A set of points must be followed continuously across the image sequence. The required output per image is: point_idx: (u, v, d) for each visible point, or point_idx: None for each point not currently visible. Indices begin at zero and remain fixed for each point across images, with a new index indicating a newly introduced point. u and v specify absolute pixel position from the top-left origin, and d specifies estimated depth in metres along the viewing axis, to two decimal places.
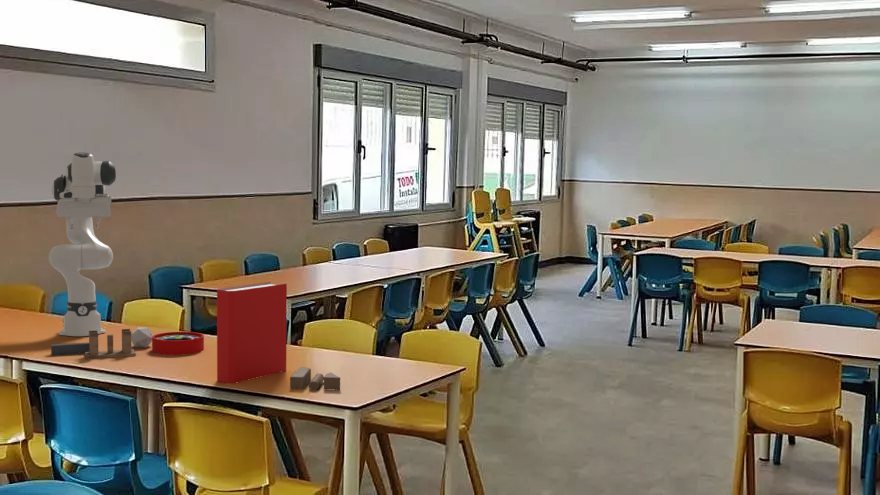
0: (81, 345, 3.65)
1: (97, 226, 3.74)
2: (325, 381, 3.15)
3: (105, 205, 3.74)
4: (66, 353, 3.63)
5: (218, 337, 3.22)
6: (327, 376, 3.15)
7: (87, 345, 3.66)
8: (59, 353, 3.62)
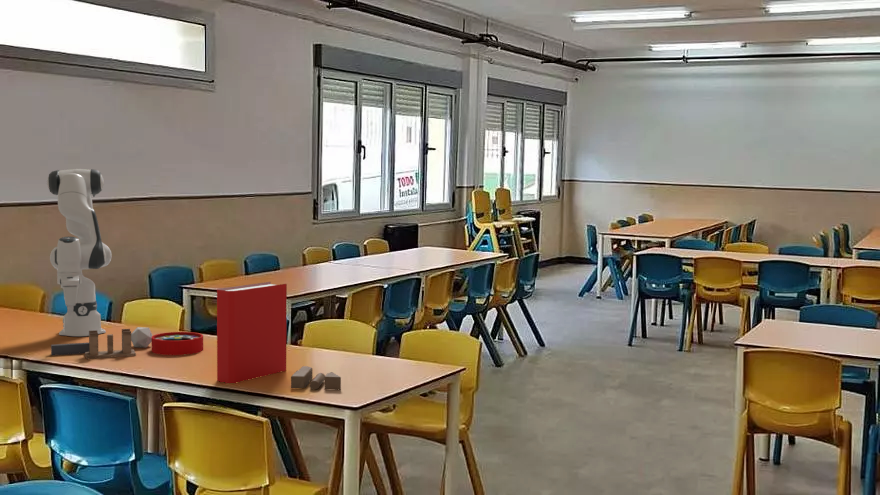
0: (81, 345, 3.65)
1: None
2: (326, 380, 3.15)
3: None
4: (66, 353, 3.63)
5: (218, 337, 3.22)
6: (328, 375, 3.16)
7: (87, 345, 3.66)
8: (59, 353, 3.62)
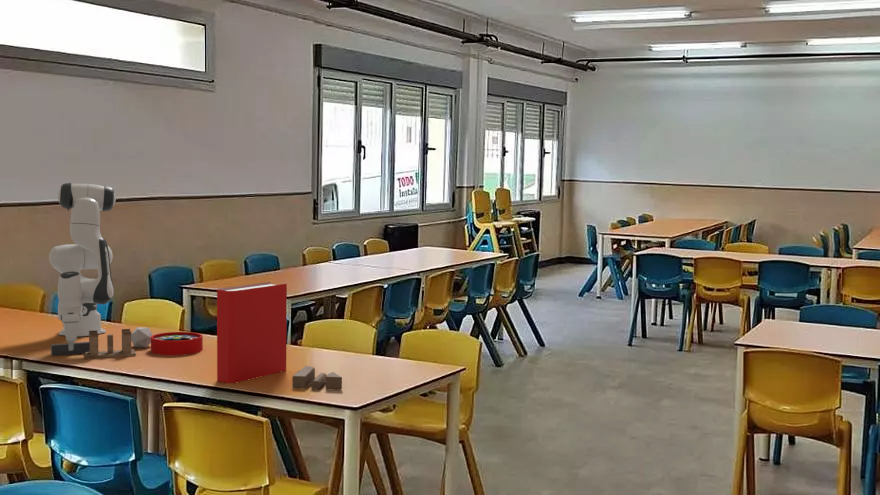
0: (81, 344, 3.65)
1: None
2: (327, 380, 3.15)
3: None
4: (66, 353, 3.63)
5: (218, 337, 3.22)
6: (329, 376, 3.16)
7: (87, 344, 3.67)
8: (59, 353, 3.62)
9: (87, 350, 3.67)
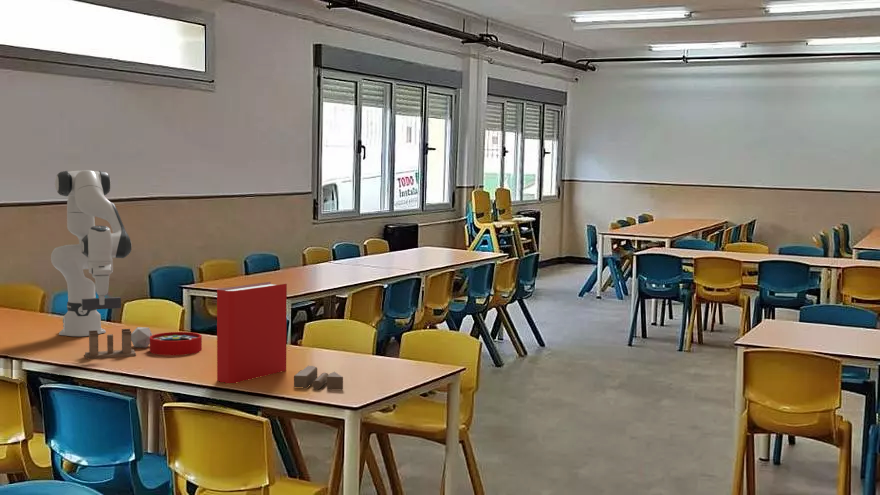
0: (112, 299, 3.62)
1: None
2: (328, 380, 3.16)
3: None
4: (97, 307, 3.59)
5: (218, 337, 3.22)
6: (330, 375, 3.16)
7: (118, 299, 3.63)
8: (90, 307, 3.58)
9: (118, 305, 3.63)
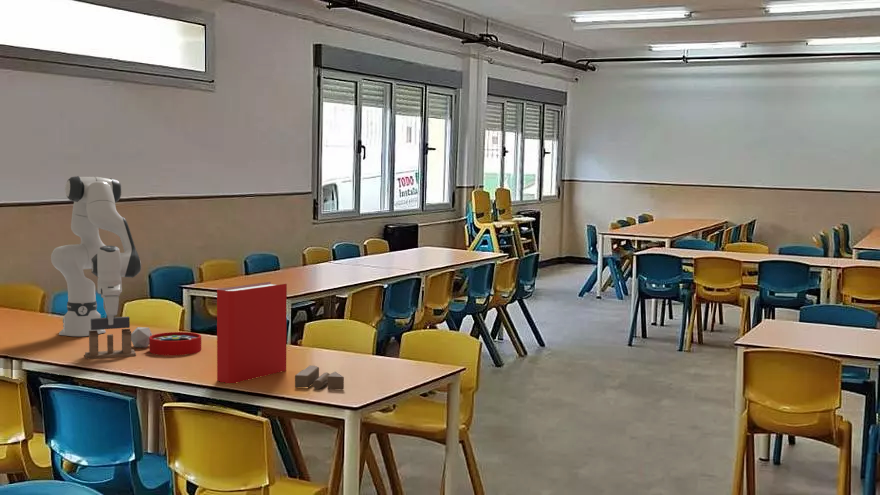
0: (121, 319, 3.63)
1: None
2: (329, 380, 3.16)
3: None
4: (106, 327, 3.60)
5: (218, 337, 3.22)
6: (331, 375, 3.16)
7: (126, 319, 3.64)
8: (99, 327, 3.59)
9: (126, 325, 3.64)
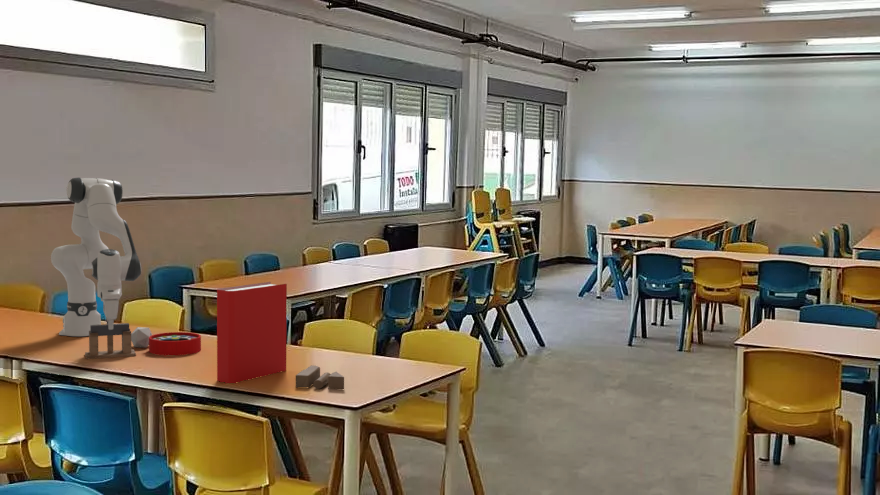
0: (120, 326, 3.63)
1: None
2: (329, 380, 3.16)
3: None
4: (105, 333, 3.61)
5: (218, 337, 3.22)
6: (332, 375, 3.16)
7: (126, 326, 3.64)
8: (98, 333, 3.60)
9: None
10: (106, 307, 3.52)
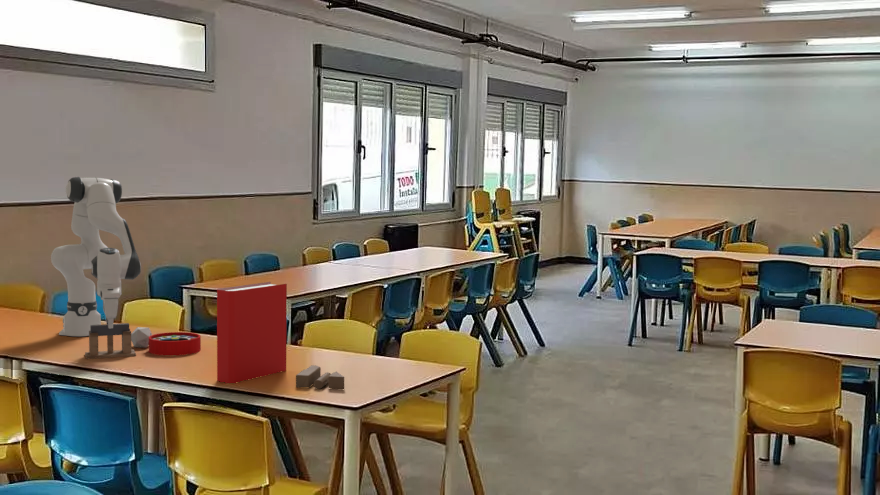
0: (120, 326, 3.63)
1: None
2: (330, 380, 3.16)
3: None
4: (105, 333, 3.61)
5: (218, 337, 3.22)
6: (332, 375, 3.17)
7: (126, 326, 3.64)
8: (98, 333, 3.60)
9: None
10: (106, 306, 3.52)
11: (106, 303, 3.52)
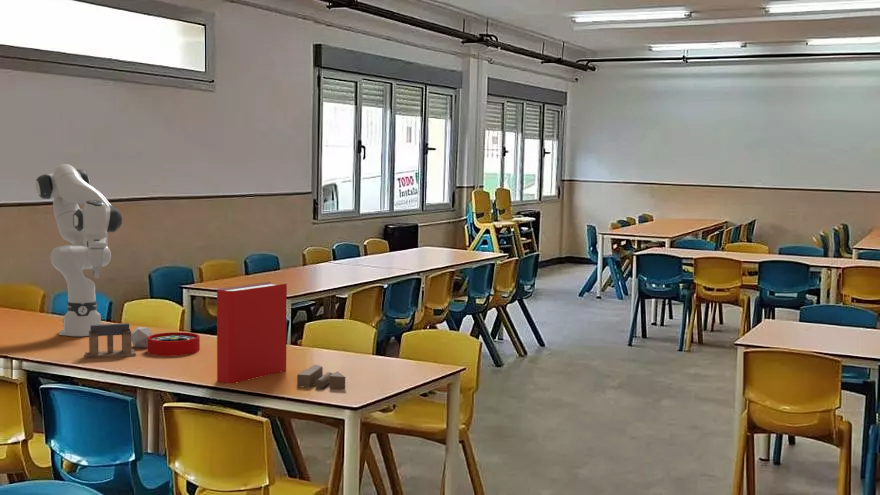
0: (120, 326, 3.63)
1: None
2: (331, 380, 3.16)
3: None
4: (105, 333, 3.61)
5: (218, 337, 3.22)
6: (333, 375, 3.17)
7: (126, 326, 3.64)
8: (98, 333, 3.60)
9: None
10: (92, 255, 3.61)
11: (92, 253, 3.62)
